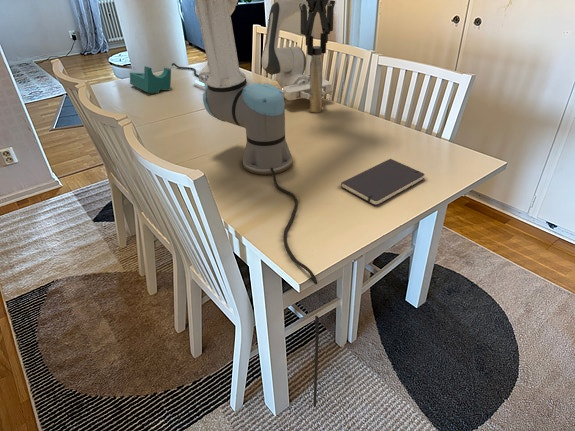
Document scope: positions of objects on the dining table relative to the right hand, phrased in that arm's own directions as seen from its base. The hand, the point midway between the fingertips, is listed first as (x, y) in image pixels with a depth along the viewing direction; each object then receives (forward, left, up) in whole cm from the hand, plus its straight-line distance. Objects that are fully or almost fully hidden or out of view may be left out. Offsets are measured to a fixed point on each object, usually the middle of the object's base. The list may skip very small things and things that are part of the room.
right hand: (316, 53), depth 148 cm
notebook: (-59, -5, -22) cm, 63 cm away
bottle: (0, 0, -22) cm, 22 cm away
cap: (0, 0, +2) cm, 2 cm away
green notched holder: (+46, +67, -22) cm, 84 cm away
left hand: (-1, 0, -15) cm, 15 cm away
